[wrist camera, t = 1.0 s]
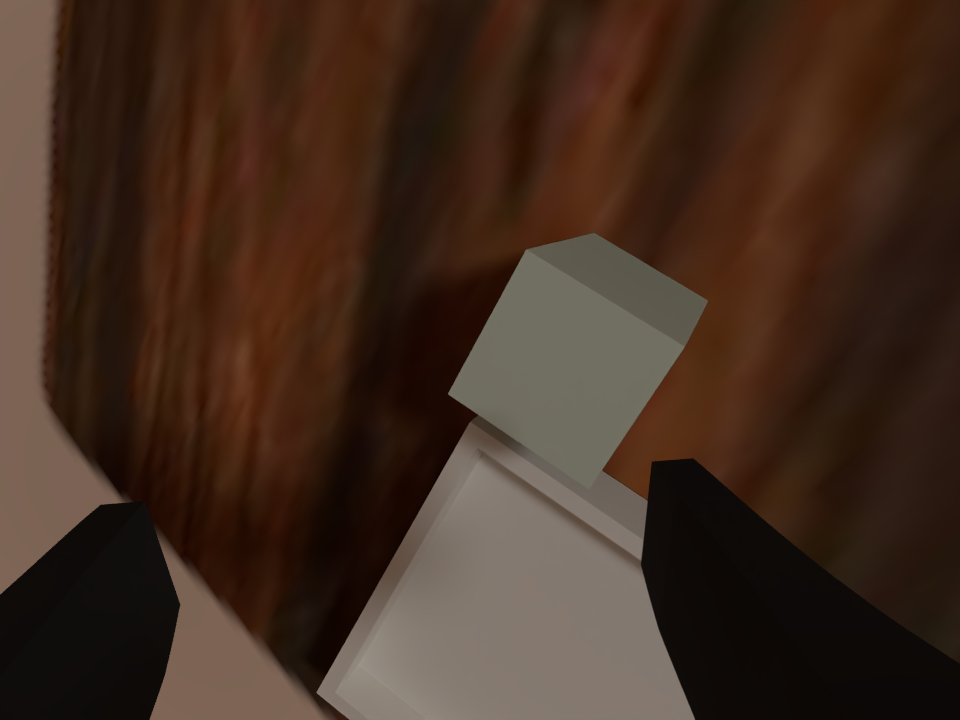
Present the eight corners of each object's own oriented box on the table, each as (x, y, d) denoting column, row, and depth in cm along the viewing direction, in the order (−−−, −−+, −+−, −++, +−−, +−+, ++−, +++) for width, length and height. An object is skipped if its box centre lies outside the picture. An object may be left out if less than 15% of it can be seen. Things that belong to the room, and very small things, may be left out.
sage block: (708, 300, 22) (684, 346, 15) (637, 407, 23) (588, 489, 17) (594, 233, 22) (526, 249, 16) (532, 339, 24) (448, 394, 17)
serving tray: (939, 697, 21) (960, 756, 19) (695, 927, 26) (689, 996, 24) (497, 400, 25) (469, 421, 22) (351, 654, 29) (316, 692, 27)
